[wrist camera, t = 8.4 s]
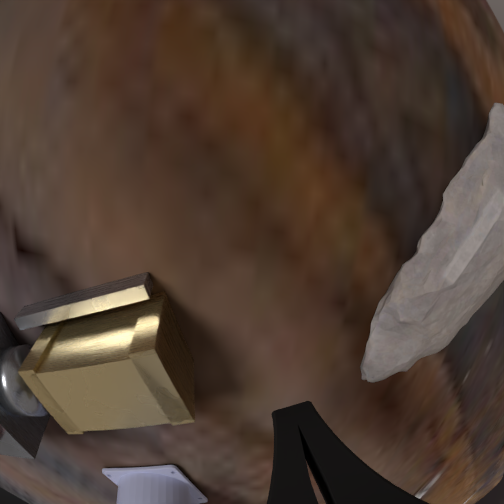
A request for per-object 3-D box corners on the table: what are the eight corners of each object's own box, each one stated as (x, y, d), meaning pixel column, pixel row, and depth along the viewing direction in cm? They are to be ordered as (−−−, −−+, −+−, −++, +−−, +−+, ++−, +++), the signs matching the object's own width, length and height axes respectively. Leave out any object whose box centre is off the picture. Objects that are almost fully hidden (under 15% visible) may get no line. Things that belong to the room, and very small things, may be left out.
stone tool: (578, 178, 13) (413, 422, 18) (539, 166, 18) (383, 381, 22) (542, 58, 9) (318, 375, 13) (493, 60, 14) (289, 319, 18)
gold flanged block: (193, 359, 18) (194, 421, 13) (86, 379, 18) (68, 434, 13) (164, 291, 16) (154, 349, 12) (50, 320, 16) (17, 371, 11)
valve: (194, 378, 19) (198, 474, 12) (-15, 401, 17) (-42, 456, 10) (147, 270, 16) (117, 362, 9) (-62, 329, 14) (-104, 380, 7)
